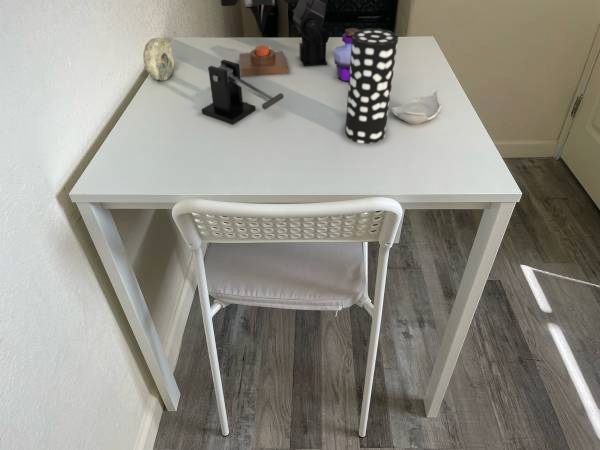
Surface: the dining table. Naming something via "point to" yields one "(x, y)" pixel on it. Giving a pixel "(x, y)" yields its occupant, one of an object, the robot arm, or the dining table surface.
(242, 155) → the dining table surface
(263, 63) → the control block
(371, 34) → the white-spotted black cylinder
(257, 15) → the robot arm
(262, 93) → the lever
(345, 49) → the potion bottle
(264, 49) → the button
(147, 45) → the stone ring
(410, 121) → the pottery shard
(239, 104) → the bracket
